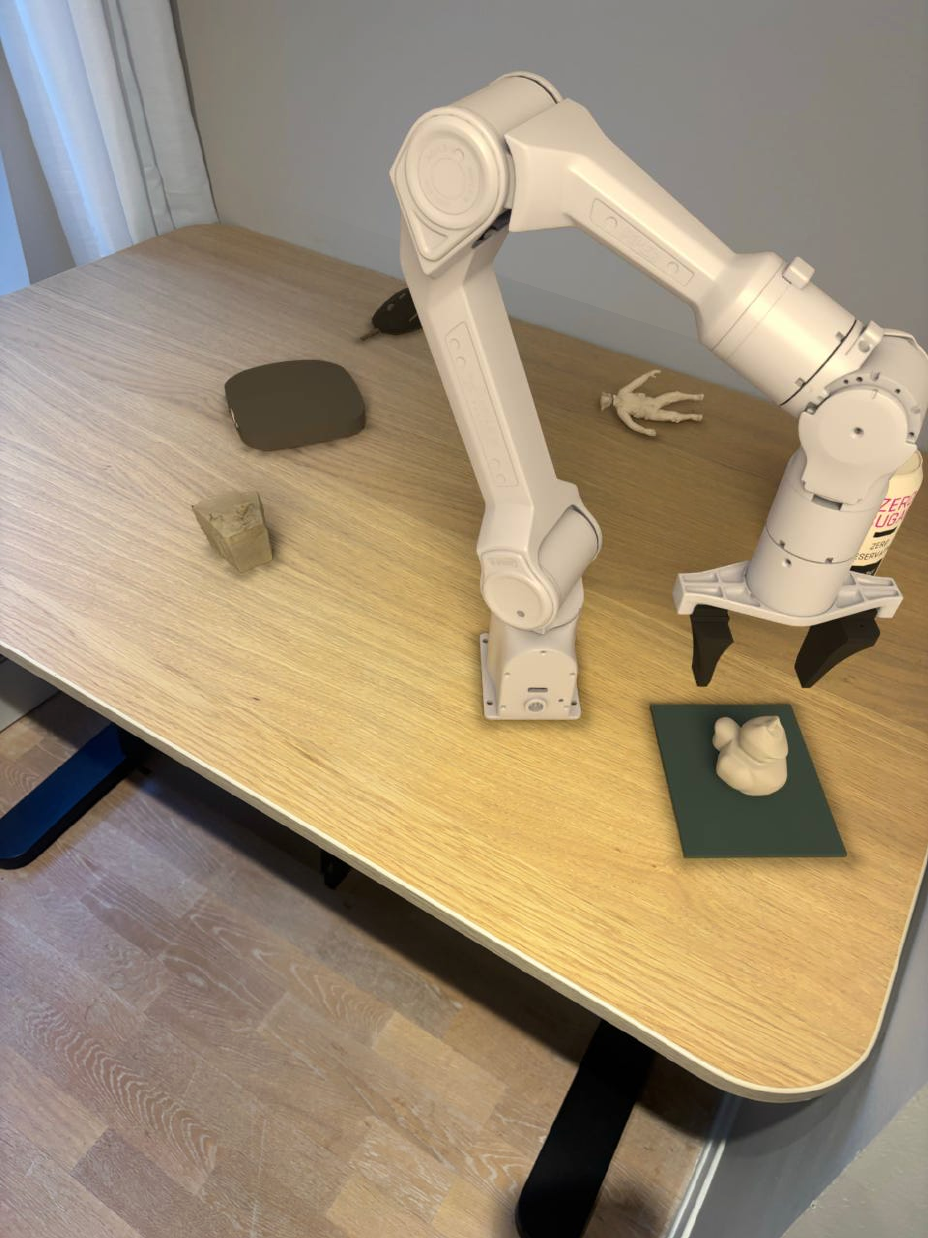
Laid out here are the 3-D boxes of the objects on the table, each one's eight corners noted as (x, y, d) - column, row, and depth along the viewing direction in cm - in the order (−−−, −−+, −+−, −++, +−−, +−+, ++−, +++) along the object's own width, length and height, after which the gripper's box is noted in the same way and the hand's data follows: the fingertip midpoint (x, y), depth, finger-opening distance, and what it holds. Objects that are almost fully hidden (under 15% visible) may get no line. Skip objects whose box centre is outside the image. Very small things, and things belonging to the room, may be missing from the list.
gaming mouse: (345, 331, 116) (344, 303, 114) (424, 298, 124) (425, 270, 121) (377, 349, 114) (376, 320, 111) (456, 313, 121) (457, 286, 119)
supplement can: (799, 541, 89) (852, 414, 79) (878, 578, 86) (943, 450, 75) (764, 581, 85) (815, 452, 74) (846, 621, 81) (911, 492, 71)
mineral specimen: (178, 557, 83) (177, 481, 78) (258, 537, 88) (262, 465, 83) (216, 597, 79) (218, 521, 74) (298, 574, 84) (304, 501, 80)
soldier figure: (701, 444, 103) (616, 426, 98) (675, 450, 107) (593, 433, 102) (707, 378, 103) (622, 357, 98) (680, 388, 108) (598, 368, 103)
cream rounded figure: (749, 820, 65) (781, 758, 60) (684, 761, 69) (709, 696, 63) (795, 785, 68) (830, 721, 62) (729, 729, 71) (757, 664, 66)
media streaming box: (374, 435, 100) (373, 412, 97) (246, 458, 95) (242, 435, 93) (339, 372, 109) (337, 350, 107) (221, 391, 105) (217, 369, 103)
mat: (845, 857, 64) (847, 854, 64) (684, 858, 63) (685, 855, 63) (789, 707, 74) (791, 704, 73) (649, 707, 73) (650, 704, 73)
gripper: (902, 496, 57) (830, 638, 67) (683, 490, 56) (643, 635, 66) (947, 569, 52) (862, 711, 62) (707, 564, 51) (660, 708, 61)
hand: (750, 677), depth 63 cm, fingers open, 7 cm apart
